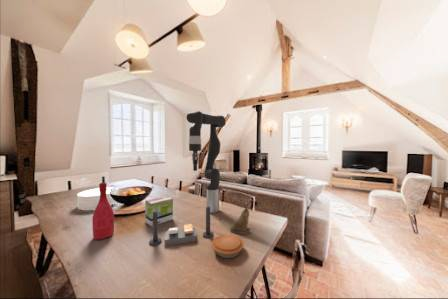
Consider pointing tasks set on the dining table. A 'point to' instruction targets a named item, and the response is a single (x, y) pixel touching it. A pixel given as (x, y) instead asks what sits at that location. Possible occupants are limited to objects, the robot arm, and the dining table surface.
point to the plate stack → (92, 198)
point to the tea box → (159, 209)
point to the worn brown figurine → (241, 223)
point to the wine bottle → (103, 216)
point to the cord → (155, 230)
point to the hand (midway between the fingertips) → (195, 170)
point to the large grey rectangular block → (179, 237)
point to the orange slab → (188, 229)
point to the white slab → (172, 230)
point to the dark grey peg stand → (208, 224)
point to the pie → (227, 245)
